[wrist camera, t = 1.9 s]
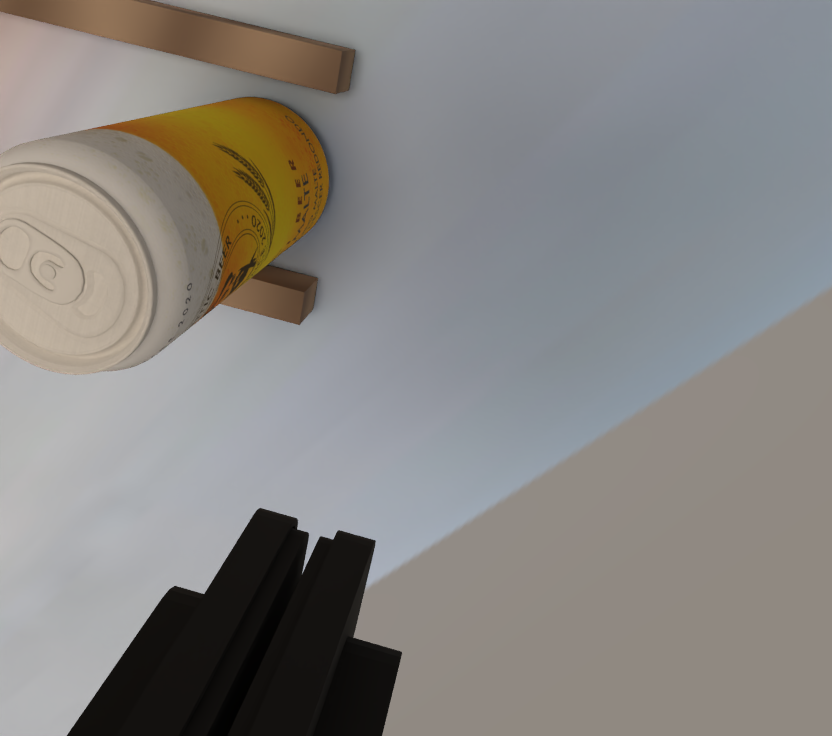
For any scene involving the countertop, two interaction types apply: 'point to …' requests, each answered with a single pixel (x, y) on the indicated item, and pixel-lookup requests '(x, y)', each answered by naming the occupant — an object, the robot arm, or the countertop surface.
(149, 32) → the u rest
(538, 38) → the countertop surface
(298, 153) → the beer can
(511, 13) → the countertop surface
